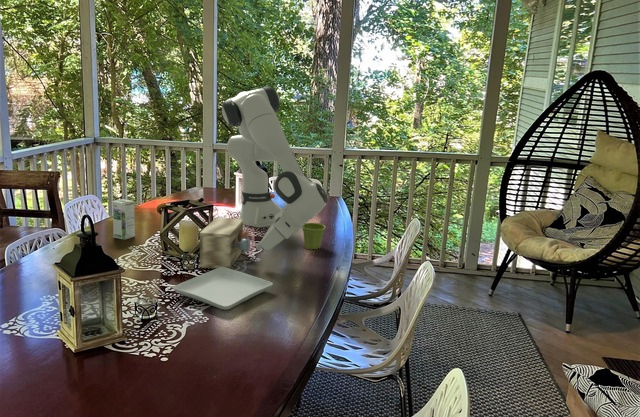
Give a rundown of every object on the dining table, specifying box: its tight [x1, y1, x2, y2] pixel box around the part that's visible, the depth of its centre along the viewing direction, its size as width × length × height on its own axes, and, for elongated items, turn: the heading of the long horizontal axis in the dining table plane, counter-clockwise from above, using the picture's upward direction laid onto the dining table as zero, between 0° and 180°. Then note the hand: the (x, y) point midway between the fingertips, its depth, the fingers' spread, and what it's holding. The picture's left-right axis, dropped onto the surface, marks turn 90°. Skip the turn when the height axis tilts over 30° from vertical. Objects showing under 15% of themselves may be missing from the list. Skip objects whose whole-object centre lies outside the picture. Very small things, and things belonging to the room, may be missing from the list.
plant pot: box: [301, 222, 327, 250], centre depth 188 cm, size 9×9×9 cm
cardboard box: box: [199, 217, 244, 269], centre depth 170 cm, size 10×20×12 cm, turn 176°
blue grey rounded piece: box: [232, 238, 251, 253], centre depth 165 cm, size 7×4×4 cm, turn 86°
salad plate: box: [172, 267, 274, 311], centre depth 142 cm, size 21×21×3 cm
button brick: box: [238, 230, 249, 242], centre depth 174 cm, size 7×4×4 cm, turn 86°
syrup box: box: [112, 198, 136, 241], centre depth 187 cm, size 6×6×14 cm
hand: (257, 247), depth 165 cm, fingers closed
